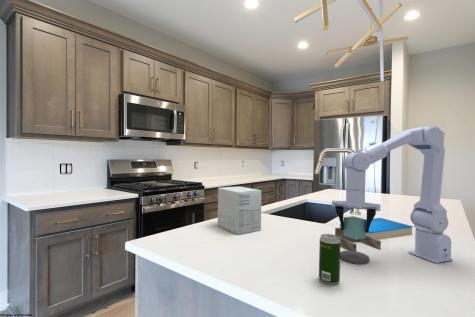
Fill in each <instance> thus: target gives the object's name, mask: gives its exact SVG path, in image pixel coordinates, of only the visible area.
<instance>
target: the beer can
mask: <svg viewBox="0 0 475 317" xmlns="http://www.w3.org/2000/svg"><path fill="white" fill-rule="evenodd" d="M340 244H341V242H340V237H339V236H336V235H335V234H331V233H330V234H329V233H324V234H321V235H320V237H319V246H318V247H319V248H318V249H319V253H318V255H319V256H318V257H319V259H318V278H319V281H320V282H322V283H323V284H324V285H330V286H337V285H338V284H339V282H340V280H341V278H340V277H341V259H340V252H341V246H340Z"/></svg>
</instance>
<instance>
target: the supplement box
mask: <svg viewBox="0 0 475 317" xmlns="http://www.w3.org/2000/svg"><path fill="white" fill-rule="evenodd" d="M217 226H218V227H221V228H224V230H227V231H229V232H231V233H233V234H235V235H243V234H247V233H248V234H249V233H254V232H257V231H262V189H257V188H251V187H245V186H225V187H224V186H223V187H217Z"/></svg>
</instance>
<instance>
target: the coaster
mask: <svg viewBox="0 0 475 317" xmlns="http://www.w3.org/2000/svg"><path fill="white" fill-rule="evenodd" d="M340 260H341V261H344V262H346V263H349V264H354V265H366V264H369V263H370V256H369V255H368V254H366V253H363V252H360V251H357V250H356V251H350V250H340Z"/></svg>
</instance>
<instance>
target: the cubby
mask: <svg viewBox="0 0 475 317" xmlns="http://www.w3.org/2000/svg"><path fill="white" fill-rule="evenodd" d="M334 235H336V236H339V237H340V242H341V244H340V248H343V249H345V250H346V251H357V243H359V242H360V243H363V244H365V245H367V246H370V247H373V248H375V249H376V250H381V247H382V242H381V239H374V238H372V237H369V236H366V238H363V239H357V240H355V239H352V238H350V237H347V236H344V230H341V227H340V226H339V227H335V228H334Z"/></svg>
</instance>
